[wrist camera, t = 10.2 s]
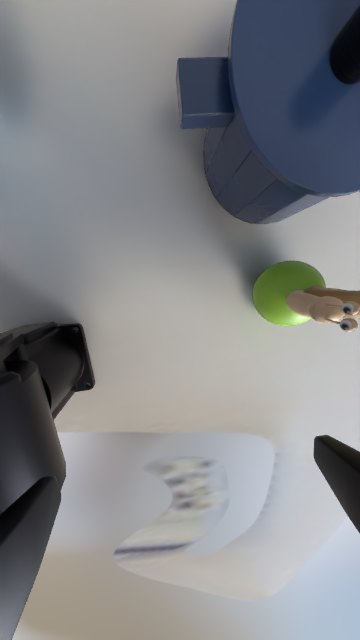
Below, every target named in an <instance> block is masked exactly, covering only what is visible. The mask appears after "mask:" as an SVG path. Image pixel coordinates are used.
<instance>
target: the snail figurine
mask: <svg viewBox="0 0 360 640" xmlns="http://www.w3.org/2000/svg"><path fill="white" fill-rule="evenodd" d="M253 302H254V305H255V308H256V310H257V311H258V313H259V314H260V315H261V316H262V317H263V318H264V319H266V320H267V321H269V322H271V323H274V324H277V325H282V326H292V325H298V324H301V323H304V322H306V321H308V320H309V319H311V318H313V319H314V320H316V321H318V322H320V323H337V324H340V327H341V329H342V330H344V331H346V332H351V331H354V330H356V328H357V326H358V324H357V322H356V321H355V320H354V319H352V318H356V319H360V291H347V290H341V289H333V288H326V284H325V281H324V279H323V277H322V275H321V274H320V273H319V272H318V271H317V270H316V269H315V268H314V267H312V266H311V265H309V264H307V263H304V262H300V261H284V262H280V263H277V264H274V265H272V266H270V267H269V268H267V269H266V270H265V271H264V272H263V273H262V274H261V275H260V276H259V277H258V279H257V281H256V283H255V285H254V289H253ZM341 318H346V319H343V320H342V321H341V322H337V321H339V320H340V319H341Z"/></svg>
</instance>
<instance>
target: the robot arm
mask: <svg viewBox="0 0 360 640" xmlns="http://www.w3.org/2000/svg"><path fill="white" fill-rule="evenodd" d="M75 327H77V328H78V331H75V329H74V328H75ZM87 383H90V384H91V385H88V384H87ZM94 385H95V380H94V376H93V371H92V367H91V362H90V358H89V353H88V349H87V344H86V340H85V335H84V331H83V327H82V326H81V325H80V324H78V323H75V324H67V325H59V326H57V324H56V323H54V322H49V323H41V324H33V325H25V326H22V327H19V328H16V329H13V330H10V331H7V332H4V333H0V640H12V637H13V635H14V632H15V630H16V627H17V625H18V622H19V619H20V617H21V614H22V612H23V609H24V607H25V604H26V602H27V599H28V597H29V594H30V592H31V589H32V587H33V584H34V581H35V579H36V576H37V574H38V571H39V568H40V565H41V562H42V559H43V556H44V553H45V550H46V546H47V543H48V540H49V537H50V534H51V531H52V527H53V525H54V521H55V518H56V515H57V512H58V508H59V505H60V502H61V492H60V491H61V488H62V485H63V483H64V480H65V477H66V463H65V459H64V456H63V452H62V449H61V445H60V442H59V438H58V435H57V431H56V428H55V424H54V421H53V420H54V419H55V418H56V416H57V415H58V414H59V412H60V411H61V410H62V408H63V407H64V406H65V404H66V403H67V402H68V400H69V399H70V398H71V396H72V395H73V394H74V392H78V391H84V390H90V389H92V388H93V387H94ZM314 459H315V462H316V464H317V465H318V467H319V469H320V470H321V472H322V474H323V475H324V477H325V479H326V480H327V482H328V484H329V485H330V487H331V489H332V490H333V492H334V494H335V495H336V497H337V499H338V500H339V502H340V504H341V505H342V507H343V509H344V510H345V512H346V514H347V515H348V517H349V518H350V520H351V521H352V523H353V524H354V526H355V527H356V529H357V530H358V531H359V533H360V452H359V451H357V450H355V449H353V448H351V447H349V446H348V445H346V444H344V443H342V442H340V441H338V440H336V439H334V438H332V437H331V436H328V435H322V436H316V437H315V439H314Z"/></svg>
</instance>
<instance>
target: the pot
mask: <svg viewBox="0 0 360 640" xmlns="http://www.w3.org/2000/svg"><path fill="white" fill-rule="evenodd" d="M176 83H177V94H178V105H179V116H180V126H181V129H196V128H208V130H207V133H206V137H205V141H204V167H205V173H206V177H207V181H208V183H209V186H210V188H211V190H212V192H213V194H214V196H215V198H216V199H217V200H218V202H219V203H220V204H221V205H222V207H223V208H224V209H225V210H227V211H228V212H229V213H230V214H231V215H233V216H235V217H236V218H238V219H240V220H243V221H245V222H249V223H254V224H267V223H273V222H278V221H281V220H283V219H285V218H287V217H289V216H291V215H293V214H295V213H297V212H300V211H302V210H304V209H306V208H308V207H310V206H312V205H314V204H316V203H318V202H320V201H322V200H324V199H326V198H329V197H320V196H313V195H308V194H305V193H302V192H299V191H296V190H294V189H293V188H291V187H289V186H287V185H285V184H284V183H282V182H281V181H279V180H278V179H277V178H275V177H274V176H273V175H272V174H271V173H270V172H269V171H268V170H267V169H266V168H265V167H264V166H263V165H262V164H261V163H260V161H259V160H258V159H257V158H256V156H255V155H254V153H253V152H252V150H251V148H250V147H249V145H248V143H247V142H246V140H245V137H244V135H243V133H242V131H241V128H240V126H239V123H238V120H237V117H236V114H235V111H234V107H233V102H232V97H231V92H230V84H229V74H228V57H205V58H179V59H178V61H177V72H176Z"/></svg>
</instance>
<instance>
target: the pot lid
mask: <svg viewBox="0 0 360 640" xmlns="http://www.w3.org/2000/svg"><path fill="white" fill-rule="evenodd" d="M228 74H229V84H230V92H231V97H232V102H233V107H234V111H235V114H236V117H237V120H238V123H239V126H240V128H241V131H242V133H243V135H244V137H245V140H246V142H247V143H248V145H249V147H250V148H251V150H252V152H253V153H254V155H255V156H256V158H257V159H258V160H259V161H260V163H261V164H262V165H263V166H264V167H265V168H266V169H267V170H268V171H269V172H270V173H271V174H272V175H273V176H274V177H275V178H277V179H278V180H279V181H281V182H282V183H284V184H285V185H287V186H289V187H291V188H293V189H294V190H296V191H299V192H302V193H305V194H308V195H313V196H320V197H338V196H344V195H349V194H352V193H356V192H359V191H360V0H237V2H236V6H235V10H234V15H233V19H232V24H231V29H230V38H229V48H228Z"/></svg>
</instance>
